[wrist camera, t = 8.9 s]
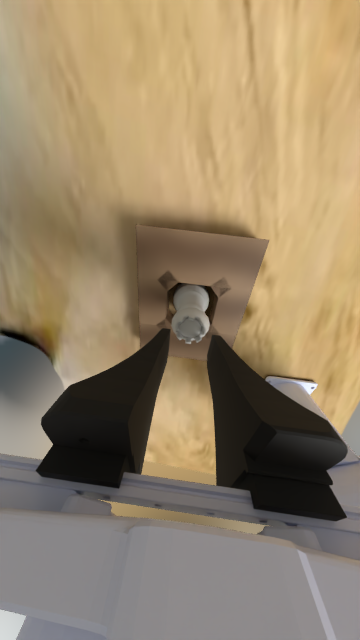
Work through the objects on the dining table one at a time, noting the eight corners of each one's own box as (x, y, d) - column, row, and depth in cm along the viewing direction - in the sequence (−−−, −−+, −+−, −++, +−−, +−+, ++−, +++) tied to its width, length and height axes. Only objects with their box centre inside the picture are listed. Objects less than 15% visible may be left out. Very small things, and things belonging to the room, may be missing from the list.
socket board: (223, 351, 22) (226, 363, 20) (145, 341, 23) (140, 352, 20) (258, 240, 15) (269, 239, 13) (144, 226, 15) (135, 224, 13)
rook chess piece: (179, 274, 17) (170, 297, 10) (214, 286, 18) (228, 315, 11) (170, 307, 20) (157, 344, 13) (201, 317, 20) (206, 358, 13)
